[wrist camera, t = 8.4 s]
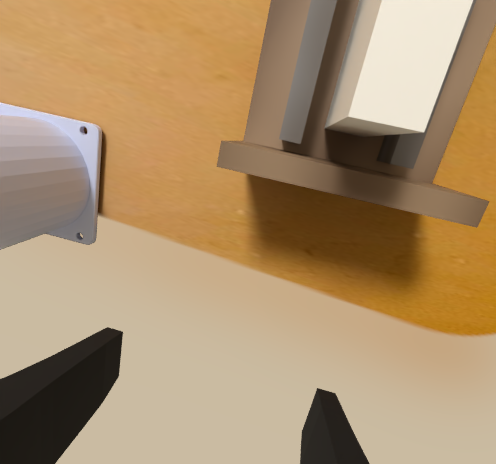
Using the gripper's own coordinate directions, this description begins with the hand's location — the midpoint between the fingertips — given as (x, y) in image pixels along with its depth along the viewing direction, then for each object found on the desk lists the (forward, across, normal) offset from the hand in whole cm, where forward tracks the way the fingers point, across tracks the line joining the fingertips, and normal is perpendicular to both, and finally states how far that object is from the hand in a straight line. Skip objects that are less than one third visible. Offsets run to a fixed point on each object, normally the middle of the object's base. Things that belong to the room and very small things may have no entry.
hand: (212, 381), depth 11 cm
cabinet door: (+8, -3, -13) cm, 16 cm away
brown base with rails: (+10, -3, -13) cm, 17 cm away
